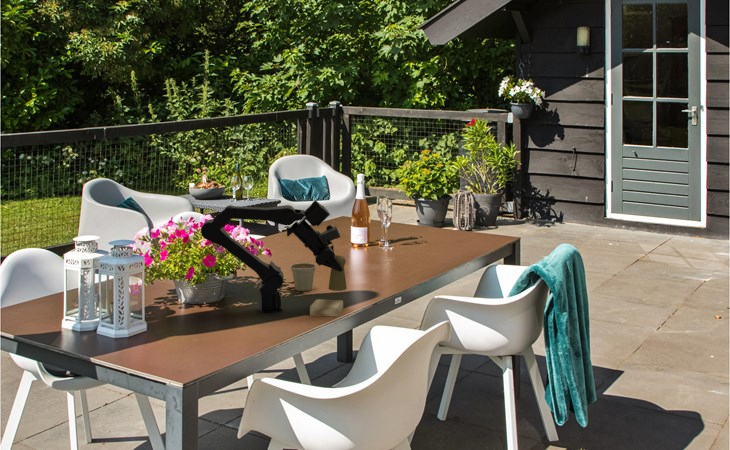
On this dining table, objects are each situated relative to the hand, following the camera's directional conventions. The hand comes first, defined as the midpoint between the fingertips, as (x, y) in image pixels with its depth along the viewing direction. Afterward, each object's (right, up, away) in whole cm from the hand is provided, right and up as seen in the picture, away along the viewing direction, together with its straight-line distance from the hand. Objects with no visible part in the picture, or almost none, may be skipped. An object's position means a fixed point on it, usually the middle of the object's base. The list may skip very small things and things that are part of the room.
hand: (341, 268), depth 314 cm
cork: (-1, -7, +1) cm, 7 cm away
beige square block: (-5, -14, -2) cm, 15 cm away
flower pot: (-14, -9, +28) cm, 33 cm away
